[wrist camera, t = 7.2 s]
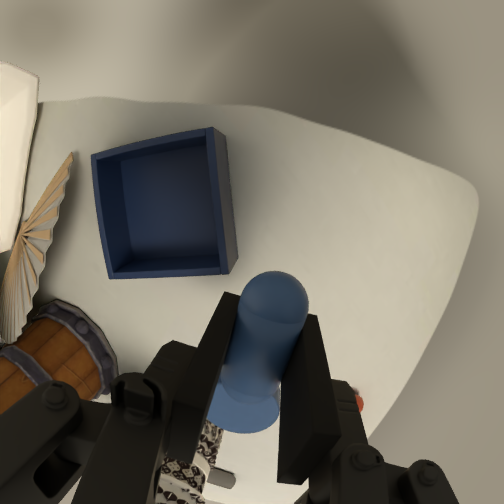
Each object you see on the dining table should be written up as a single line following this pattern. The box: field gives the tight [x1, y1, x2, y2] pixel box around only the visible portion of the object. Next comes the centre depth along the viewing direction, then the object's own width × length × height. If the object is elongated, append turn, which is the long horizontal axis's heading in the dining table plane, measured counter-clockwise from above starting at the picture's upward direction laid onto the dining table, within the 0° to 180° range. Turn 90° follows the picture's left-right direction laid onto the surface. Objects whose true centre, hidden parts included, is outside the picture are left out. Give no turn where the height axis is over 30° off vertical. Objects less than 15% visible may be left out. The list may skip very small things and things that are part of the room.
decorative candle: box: [155, 418, 224, 504], centre depth 19 cm, size 9×9×25 cm
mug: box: [0, 300, 118, 415], centre depth 21 cm, size 19×14×20 cm
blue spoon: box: [207, 271, 309, 433], centre depth 12 cm, size 9×4×3 cm, turn 166°
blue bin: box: [91, 127, 238, 279], centre depth 22 cm, size 11×11×4 cm
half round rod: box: [207, 469, 236, 489], centre depth 33 cm, size 4×20×2 cm, turn 65°
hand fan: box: [0, 152, 74, 344], centre depth 23 cm, size 26×1×15 cm
